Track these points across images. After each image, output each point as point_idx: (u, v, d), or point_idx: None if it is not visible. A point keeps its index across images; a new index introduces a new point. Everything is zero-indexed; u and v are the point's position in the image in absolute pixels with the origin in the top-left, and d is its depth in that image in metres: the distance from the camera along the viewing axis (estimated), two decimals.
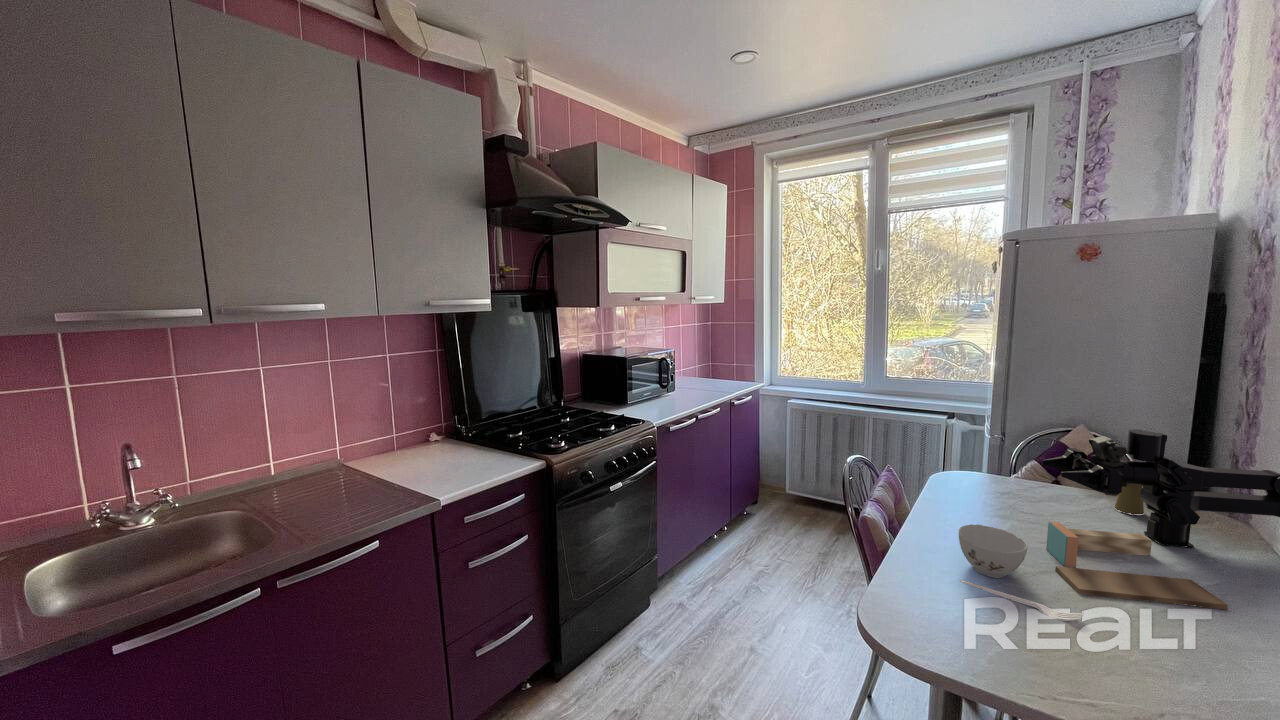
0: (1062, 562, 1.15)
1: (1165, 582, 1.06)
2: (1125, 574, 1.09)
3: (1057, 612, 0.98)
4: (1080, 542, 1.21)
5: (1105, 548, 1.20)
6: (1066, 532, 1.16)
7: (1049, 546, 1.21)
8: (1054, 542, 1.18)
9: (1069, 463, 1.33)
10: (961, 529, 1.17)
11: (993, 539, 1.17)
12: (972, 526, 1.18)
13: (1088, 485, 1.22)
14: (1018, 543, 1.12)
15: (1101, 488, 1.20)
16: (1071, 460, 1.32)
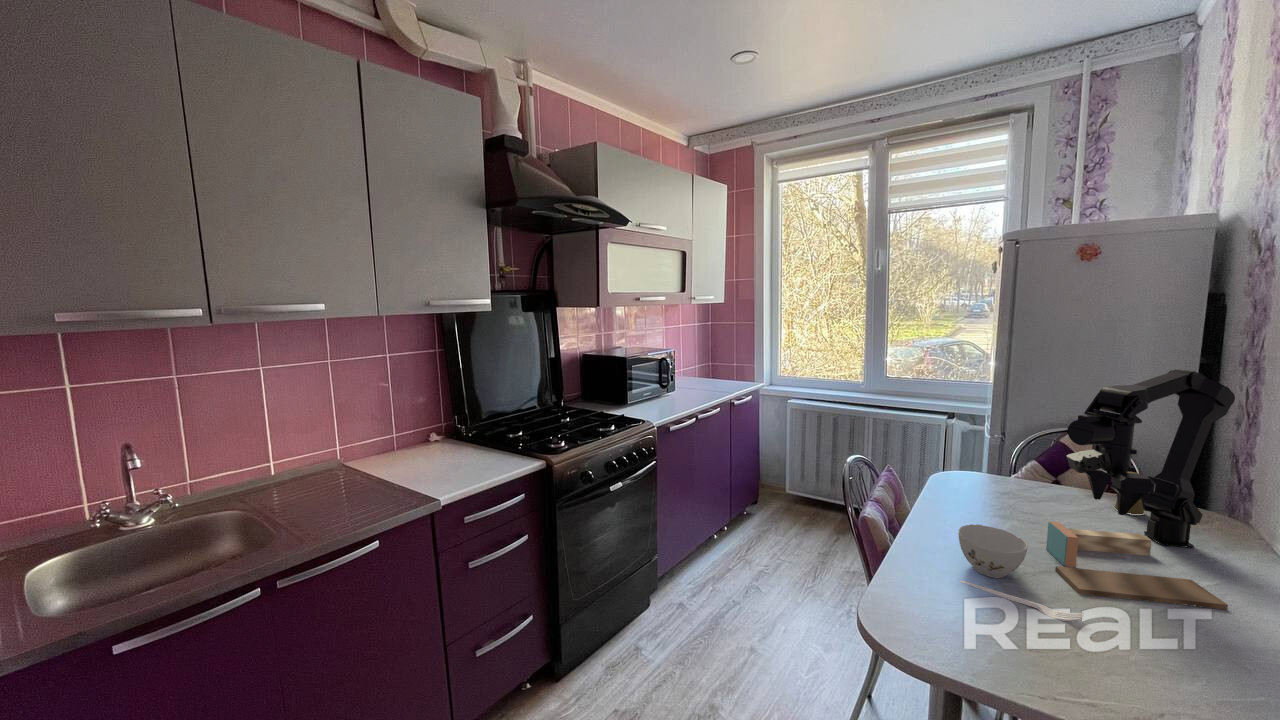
0: (1062, 562, 1.15)
1: (1165, 582, 1.06)
2: (1125, 574, 1.09)
3: (1057, 612, 0.98)
4: (1080, 542, 1.21)
5: (1105, 548, 1.20)
6: (1066, 532, 1.16)
7: (1049, 546, 1.21)
8: (1054, 542, 1.18)
9: (1098, 474, 1.24)
10: (961, 529, 1.17)
11: (993, 539, 1.17)
12: (972, 526, 1.18)
13: (1138, 497, 1.13)
14: (1018, 543, 1.12)
15: (1144, 493, 1.11)
16: (1094, 472, 1.25)
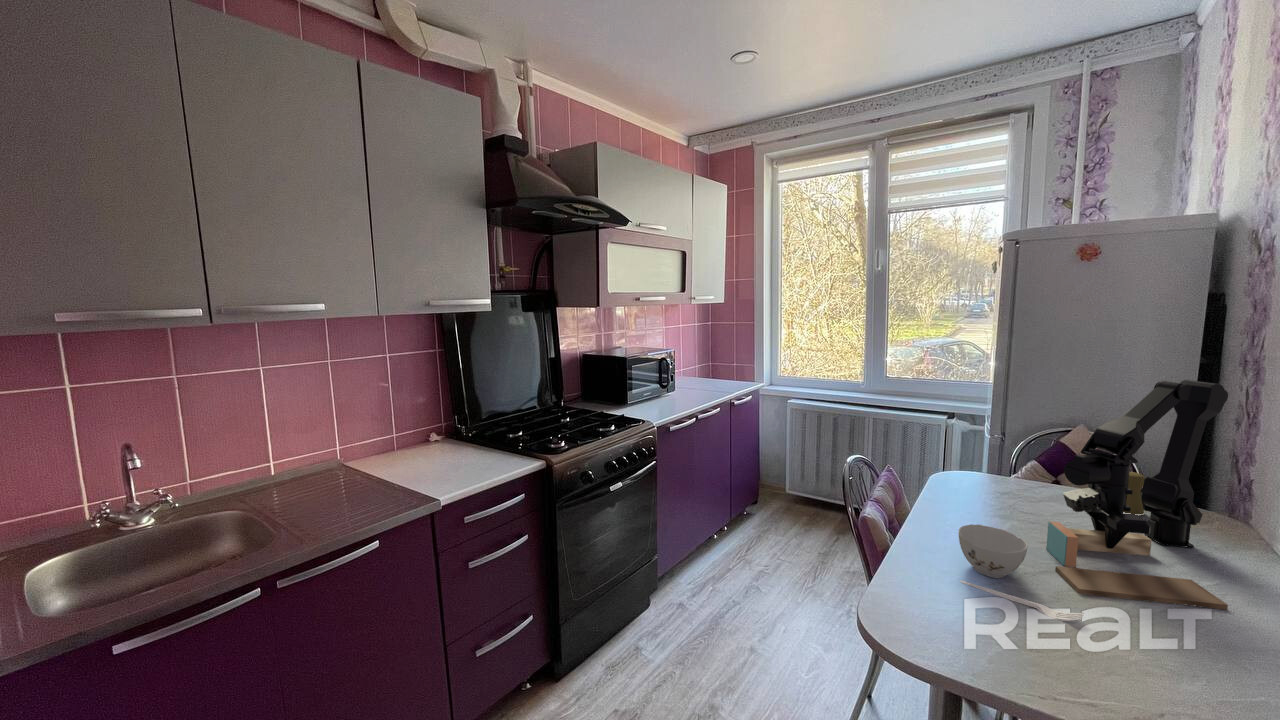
0: (1062, 562, 1.15)
1: (1165, 582, 1.06)
2: (1125, 574, 1.09)
3: (1057, 612, 0.98)
4: (1080, 542, 1.21)
5: (1105, 547, 1.20)
6: (1066, 532, 1.16)
7: (1049, 546, 1.21)
8: (1054, 542, 1.18)
9: (1102, 516, 1.23)
10: (961, 529, 1.17)
11: (993, 539, 1.17)
12: (972, 526, 1.18)
13: (1125, 532, 1.17)
14: (1018, 543, 1.12)
15: None
16: (1098, 514, 1.23)
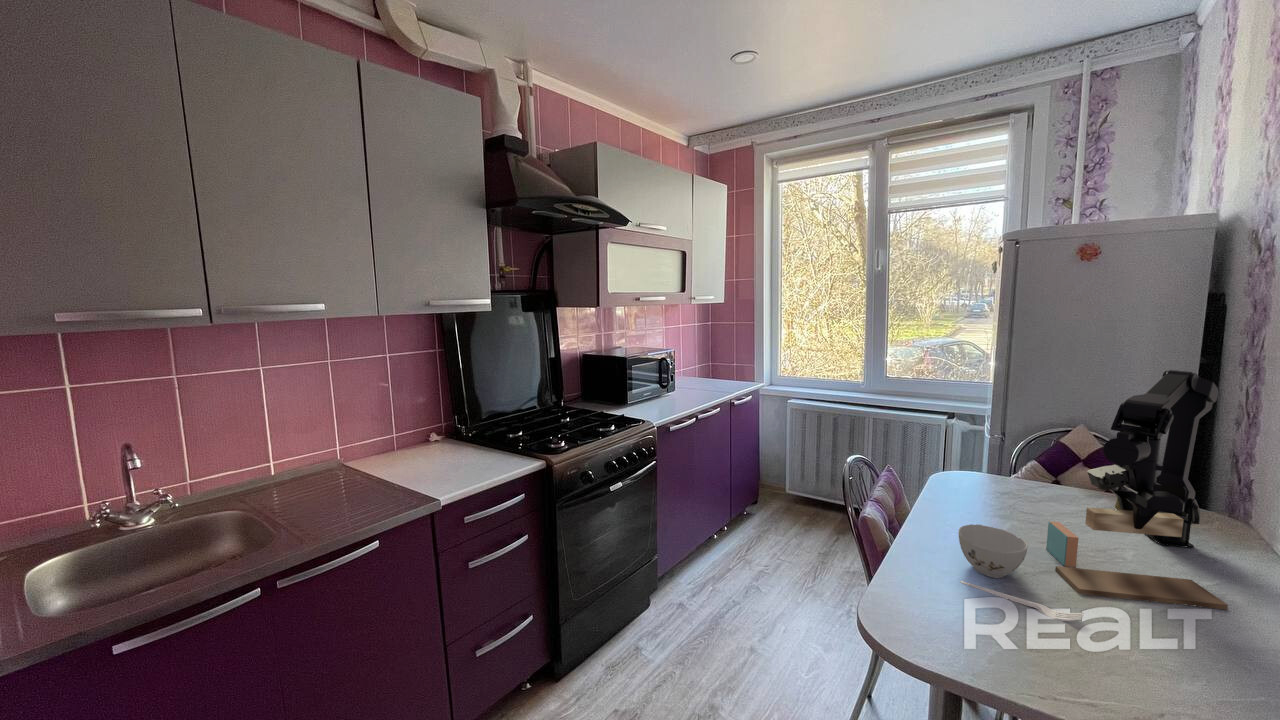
0: (1062, 562, 1.15)
1: (1165, 582, 1.06)
2: (1125, 574, 1.09)
3: (1057, 612, 0.98)
4: (1106, 522, 1.14)
5: (1133, 527, 1.12)
6: (1067, 532, 1.16)
7: (1049, 546, 1.21)
8: (1054, 542, 1.18)
9: (1129, 495, 1.15)
10: (961, 529, 1.17)
11: (993, 539, 1.17)
12: (972, 526, 1.18)
13: (1155, 511, 1.09)
14: (1018, 543, 1.12)
15: None
16: (1125, 493, 1.15)
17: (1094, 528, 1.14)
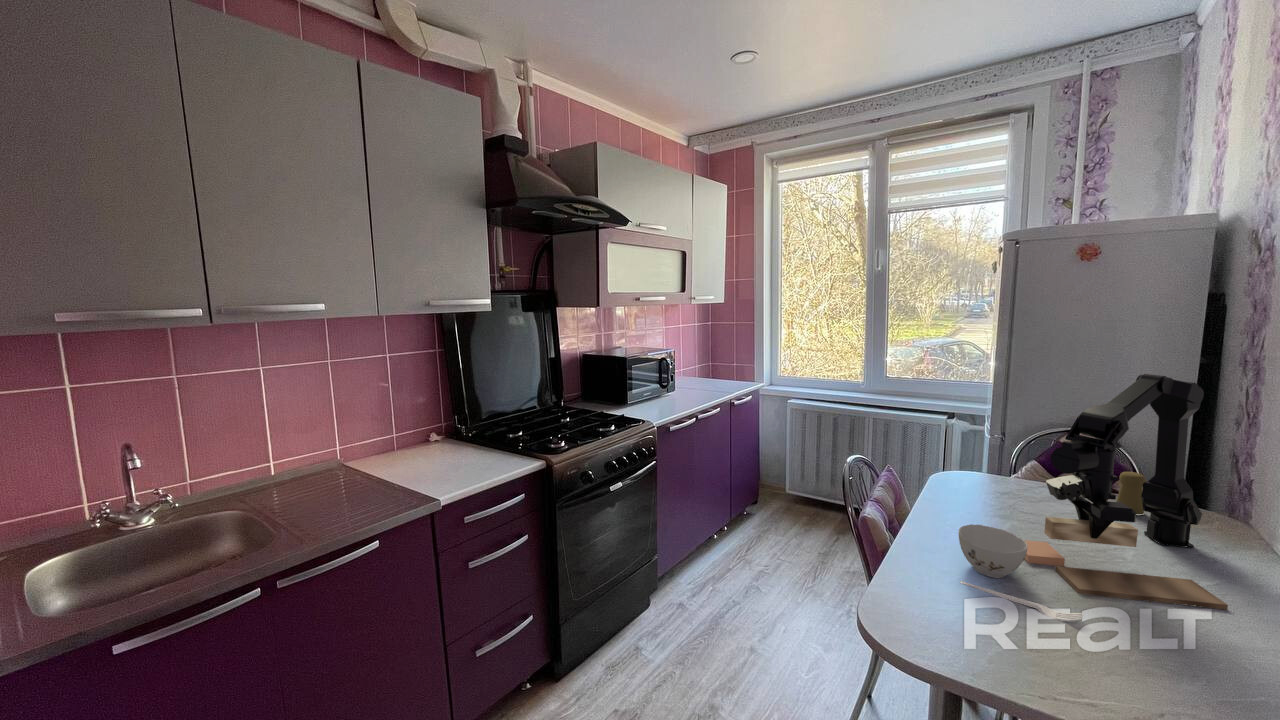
0: None
1: (1165, 582, 1.06)
2: (1125, 574, 1.09)
3: (1057, 612, 0.98)
4: (1063, 531, 1.16)
5: (1090, 537, 1.14)
6: None
7: None
8: None
9: (1086, 504, 1.17)
10: (961, 529, 1.17)
11: (993, 539, 1.17)
12: (972, 526, 1.18)
13: (1110, 521, 1.11)
14: (1018, 543, 1.12)
15: None
16: (1082, 502, 1.17)
17: (1052, 537, 1.16)
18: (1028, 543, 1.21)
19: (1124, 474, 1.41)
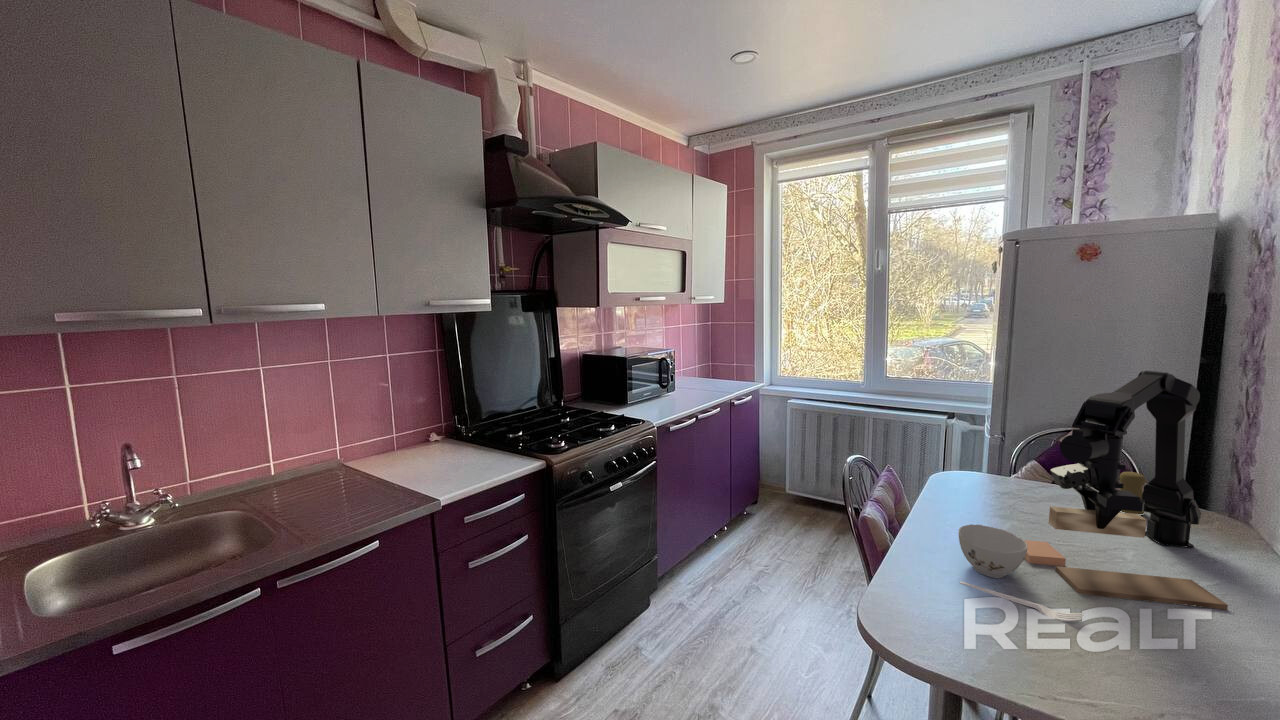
0: None
1: (1165, 582, 1.06)
2: (1125, 574, 1.09)
3: None
4: (1068, 521, 1.12)
5: (1096, 527, 1.11)
6: None
7: None
8: None
9: (1093, 494, 1.13)
10: (961, 529, 1.17)
11: (993, 539, 1.17)
12: (972, 526, 1.18)
13: (1117, 510, 1.08)
14: (1018, 543, 1.12)
15: None
16: (1088, 492, 1.13)
17: (1056, 527, 1.13)
18: (1028, 543, 1.21)
19: (1124, 474, 1.41)
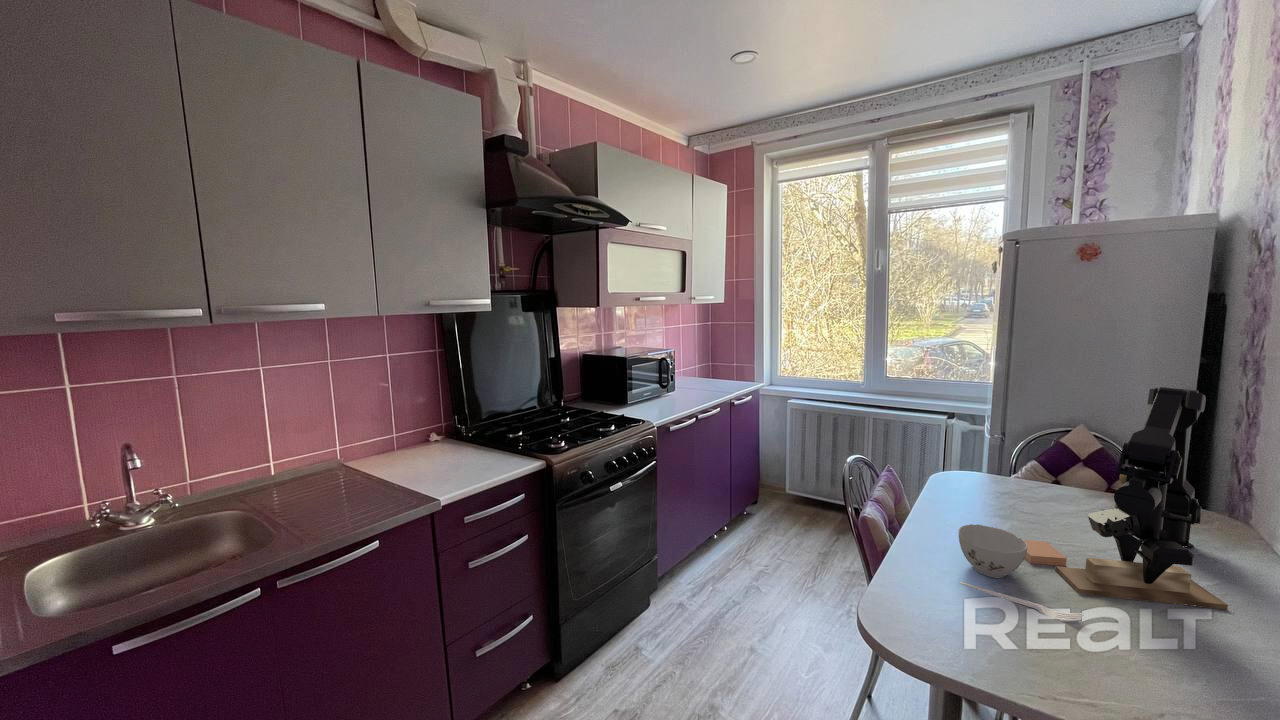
0: None
1: None
2: None
3: None
4: (1107, 575, 1.05)
5: (1137, 581, 1.04)
6: None
7: None
8: None
9: (1128, 537, 1.08)
10: (961, 529, 1.17)
11: (993, 539, 1.17)
12: (972, 526, 1.18)
13: (1167, 565, 0.99)
14: (1018, 543, 1.12)
15: None
16: (1123, 535, 1.08)
17: (1094, 581, 1.06)
18: (1028, 543, 1.21)
19: None
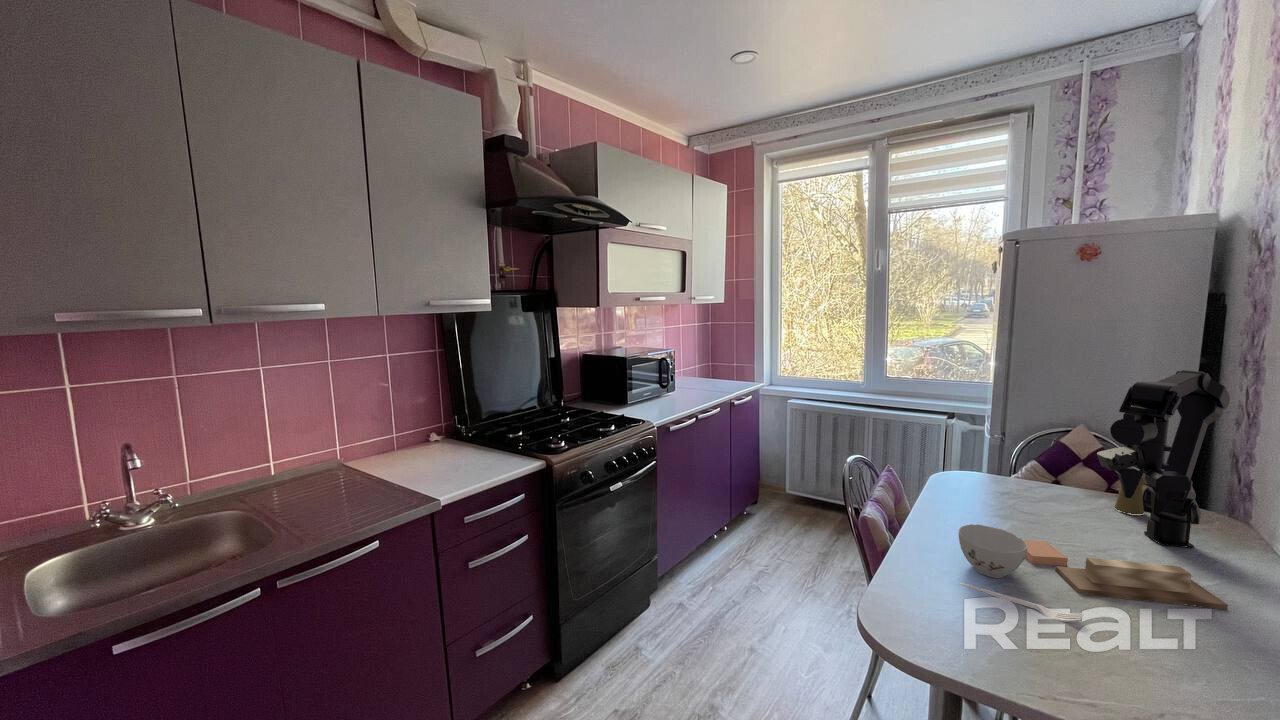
0: None
1: None
2: None
3: (1057, 613, 0.98)
4: (1107, 575, 1.05)
5: (1137, 581, 1.04)
6: (1026, 555, 1.18)
7: None
8: None
9: (1129, 472, 1.21)
10: (961, 529, 1.17)
11: (993, 539, 1.17)
12: (972, 526, 1.18)
13: (1174, 496, 1.10)
14: (1018, 543, 1.12)
15: (1180, 491, 1.08)
16: (1125, 470, 1.21)
17: (1094, 581, 1.06)
18: (1029, 543, 1.21)
19: None
